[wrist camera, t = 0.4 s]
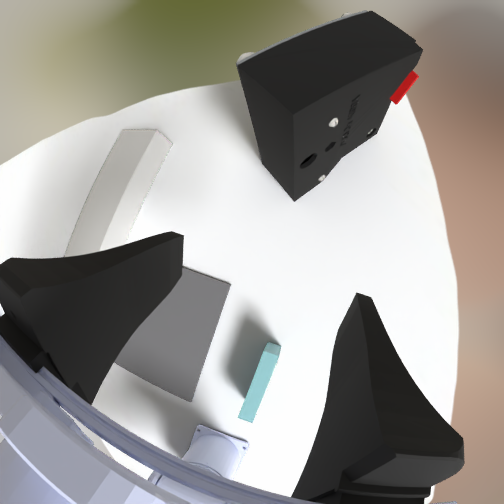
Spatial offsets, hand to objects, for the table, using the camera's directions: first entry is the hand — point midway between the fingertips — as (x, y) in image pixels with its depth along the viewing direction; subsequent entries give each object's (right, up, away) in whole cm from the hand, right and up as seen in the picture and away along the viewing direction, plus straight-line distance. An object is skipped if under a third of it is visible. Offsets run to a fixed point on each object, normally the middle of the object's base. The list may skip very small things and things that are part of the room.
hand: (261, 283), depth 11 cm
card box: (+1, -15, +24) cm, 28 cm away
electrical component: (+10, +17, +28) cm, 34 cm away
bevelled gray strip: (-24, +5, +32) cm, 40 cm away
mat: (-13, -9, +27) cm, 31 cm away
